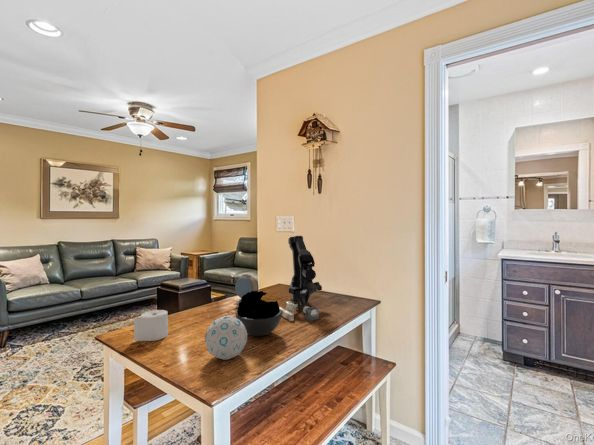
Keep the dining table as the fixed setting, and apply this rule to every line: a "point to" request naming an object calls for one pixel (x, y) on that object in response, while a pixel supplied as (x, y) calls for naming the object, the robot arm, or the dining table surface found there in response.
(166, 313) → the toilet tissue
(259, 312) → the bowl of black rocks
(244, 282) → the alarm clock
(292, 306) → the valve
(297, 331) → the dining table surface
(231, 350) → the puzzle ball
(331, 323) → the dining table surface
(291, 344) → the dining table surface
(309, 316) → the pipe stand
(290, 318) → the fence
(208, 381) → the dining table surface
